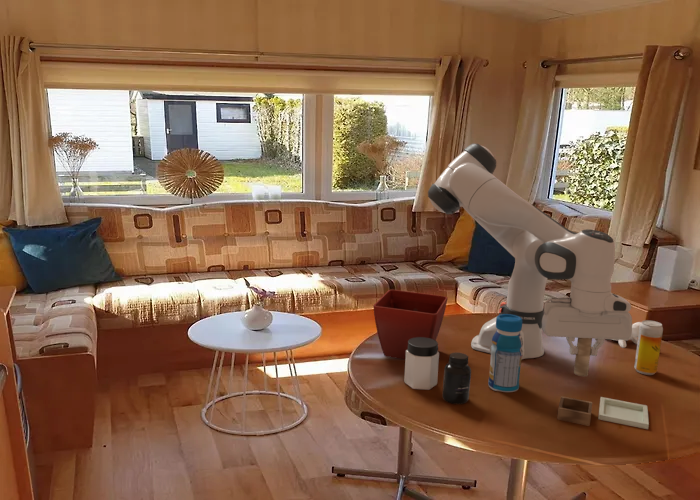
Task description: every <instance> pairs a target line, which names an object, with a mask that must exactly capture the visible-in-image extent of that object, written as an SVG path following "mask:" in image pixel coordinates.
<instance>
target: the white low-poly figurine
mask: <svg viewBox="0 0 700 500" xmlns="http://www.w3.org/2000/svg"><path fill="white" fill-rule="evenodd" d="M641 323H642V321H637V322H634V323H632V334H631V337H630V338H629V339H628V340H615V339H610V340H613V341H616V342H618V345H619V346H620V348H622V349H623V348H626V347H627V341H628V342H629V341H631V342H633V343H634V344H635V345H637V343H638V336H639V329H640V324H641Z"/></svg>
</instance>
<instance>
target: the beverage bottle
mask: <svg viewBox="0 0 700 500" xmlns="http://www.w3.org/2000/svg"><path fill="white" fill-rule="evenodd" d="M496 317H497V318H496V329H497V331H496V332H495V334H494V335H493V338H492V343H493V345H492V346H491V349H490V352H491V353H490V364H489V374H488V376H489V377H488V380H487V381H488V383H487V384H488V387H489V389H491V390H493V391H495V392H501V393H502V392H503V393H513V392H517V391H518V390H519V388H520V375H521V366H522V365H521V364H522V359H521V358H522V355H523V350H522V346H523V340H522V337H521V335H520V333H519V332H521V329H522V318H521V317H519V316H516V315H511V314H501V315H499V314H498V315H497V316H496Z"/></svg>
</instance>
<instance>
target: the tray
mask: <svg viewBox="0 0 700 500" xmlns="http://www.w3.org/2000/svg"><path fill="white" fill-rule="evenodd" d="M598 420H601V421H604V422H610V423H614V424H620V425H624V426H630V427H635V428H639V429H645V430H649V427H650V426H649V425H650V424H649V423H650V422H649V411H648V405H646V404H640V403H637V402H629V401H624V400H619V399H613V398H610V397H605V396H604V397H603V396H600V399H599V408H598Z"/></svg>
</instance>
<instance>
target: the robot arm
mask: <svg viewBox="0 0 700 500" xmlns="http://www.w3.org/2000/svg"><path fill="white" fill-rule="evenodd" d="M496 168H497V159H496V158H495V156H494V154H493V152H491V150H490V149H489V148H488V147H486V146H484V145H481V144H479V143H471V144H469V145H468V146H466V147H465V148H464V149H463V151H462V152H461V153H459V155H457V156H456V157H455V158H454V159H453V160H452V161H451V162H450V163H449V164H448V165H447V167H446V168H444V169H445V170H443V172H442V173H441V174H440V175H439V176H438V178H437V179H436V181H435V182H434V183H432V184H431V186H430V187H429V188H428V190H427V197H428V199H429V201H430V203H431V205H432V207H433V208H435V210H436V211H438V212H441V213H444V214H445V215H453V214H455V213H456V212H458V211H459V210H461V207H462V208H463V209H464V211H466V213H467V214H468V215H469V216H470V217H471V218H472V219H474V221H476V222H477V224H478V225H480V226H481V227H482V228H483V229H484V230H485V231H486V232H487V233H488V234H489V235H490V236H492V238H494V239H495V241H496V242H498V243H499V244H500V245H501V247H503V248H504V249H505V250H506V251H507V252H508V253H509V254H510V255H511V256H512V257H513V258H514V262H515V263H514V267H513V270H512V273H511V277H510V279H509V280H508V283H507V295H506V296H507V297H506V302H505V301H502V302H501V303H500V305H499V313H498V315H501V314H511V315H516V316H519V317H521V318H522V329H521V332H519V333H520V335H521V337H522V340H523V346H522V350H523V355H522V358H521V360H524V359H525V360H526V359H534V358H539V357H541V356H543V355H544V354H545V351H544V350H545V349H544V346H543V345H544V344H543V334H545V336H547V337H553V338H554V337H555V338H557V337H558V338H565V340H566V341H567V343H568V345H569V349H568V350H569V354H570V355H571V356H576V355H577V354H578V348H577V345H574V343H573V342H575V339H578V338H592V339H593V340H595V342H594V344H593V345H592V346H591V353H590V357H592V356H593V357H594V356H595V357H596V356H597V355H598V350H599V349H600V348H601V347H602V345H604V343H605V340H611V339H615V340H628V339H629V338H630V337H631V334H632V325H633V317H632V315H631V313H630V312H631V310H632V304H631V303H630V302H629V301H628V300H627V299H626V298H624V297H622V296H620V295H618V294H615V293H613V292H612V284H611V283H612V282H611V281H612V280H611V279H612V276H613V274H614V273H615V272H614V270H615V259H616V258H615V257H616V246H615V240H614V239H613V237H611V236H610V235H609V234H608V233H606V232H604V231H601V230H596V229H589V228H587V229H583V230H581V231H579V232H575V231H572V230H570V229H568V228H567V227H565V226H564V225H562V224H561V223H560V222H558V221H556V220H555V219H554V218H553V217H551V216H550V215H548V214H546V213H545V212H544V211H542V210H541V209H539V208H538V207H536V206H535V205H533V204H532V203H530V202H529V201H528V200H526V199H525V198H523V197H521V195H519V194H517V193H516V192H515V191H514V190H512V189H511V188H510V187H509V186H507V185H506V184H505V183H504V182H502V181H501V180H500V179H499V178H497V177H496V176H495V175H494V174H493V173H494V172H495V170H496ZM548 279H549V280H562V281H563V280H568V281H570V282H571V284H570V294H569V297H560V298H559V297H551V298H550V299H547V300H546V301H545V294H546V286H547V281H548ZM496 318H497V316H496V317H492V319H489V320H488V321H486V322H485V323H484V324H483V325H482V327H480V330H479V334H477V335H476V336H474V337H473V338H472V340H471V343H470V344H471V345H470V346H471V348H472V349H473V350H476V351H479V352H484V353H487V354H491V352H490V349H491V346H492V345H493V343H492V338H493V335H494V334H495V332H496V331H497V329H496ZM615 340H614V341H615ZM628 341H629V340H628ZM597 357H598V356H597Z"/></svg>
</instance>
